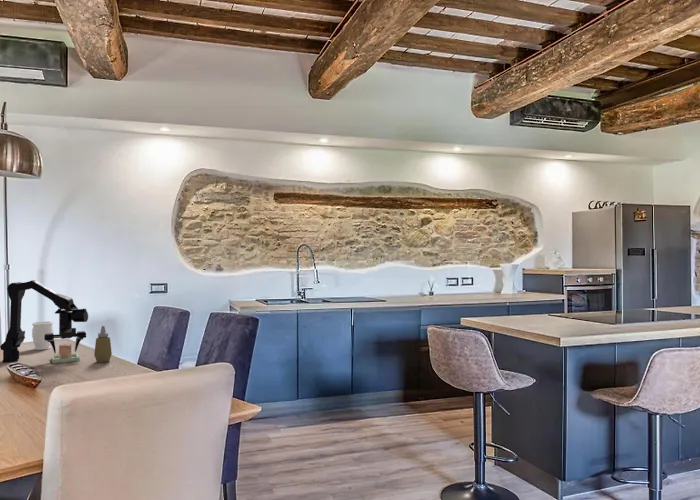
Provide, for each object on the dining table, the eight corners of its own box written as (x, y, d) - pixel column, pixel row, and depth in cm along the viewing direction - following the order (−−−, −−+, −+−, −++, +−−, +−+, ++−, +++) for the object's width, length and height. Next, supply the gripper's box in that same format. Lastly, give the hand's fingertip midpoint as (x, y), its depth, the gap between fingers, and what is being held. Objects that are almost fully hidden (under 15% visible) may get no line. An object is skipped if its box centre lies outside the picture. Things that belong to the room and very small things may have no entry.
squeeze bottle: (90, 362, 270) (90, 326, 270) (104, 359, 277) (104, 324, 277) (101, 363, 266) (101, 327, 266) (115, 360, 273) (115, 325, 274)
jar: (46, 350, 301) (46, 323, 301) (27, 350, 301) (28, 323, 301) (56, 347, 312) (56, 321, 312) (39, 347, 312) (39, 321, 312)
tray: (52, 363, 267) (52, 359, 267) (51, 359, 277) (51, 355, 277) (79, 360, 273) (79, 357, 273) (77, 356, 284) (77, 353, 284)
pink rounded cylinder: (59, 360, 272) (59, 346, 272) (58, 358, 276) (58, 344, 276) (71, 359, 274) (71, 345, 274) (71, 357, 279) (71, 343, 279)
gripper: (45, 325, 264) (44, 357, 264) (87, 322, 273) (87, 353, 273) (44, 322, 273) (44, 353, 273) (85, 320, 283) (85, 350, 283)
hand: (65, 352), depth 275 cm, fingers open, 9 cm apart
